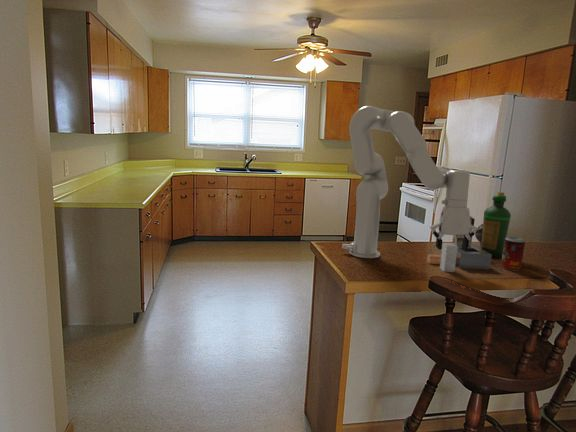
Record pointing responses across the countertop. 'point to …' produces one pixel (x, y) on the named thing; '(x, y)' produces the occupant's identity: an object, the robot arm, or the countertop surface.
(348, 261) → the countertop surface
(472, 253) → the bracket head
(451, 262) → the steel wedge
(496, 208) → the bottle
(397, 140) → the robot arm
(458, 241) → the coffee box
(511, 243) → the soda can
